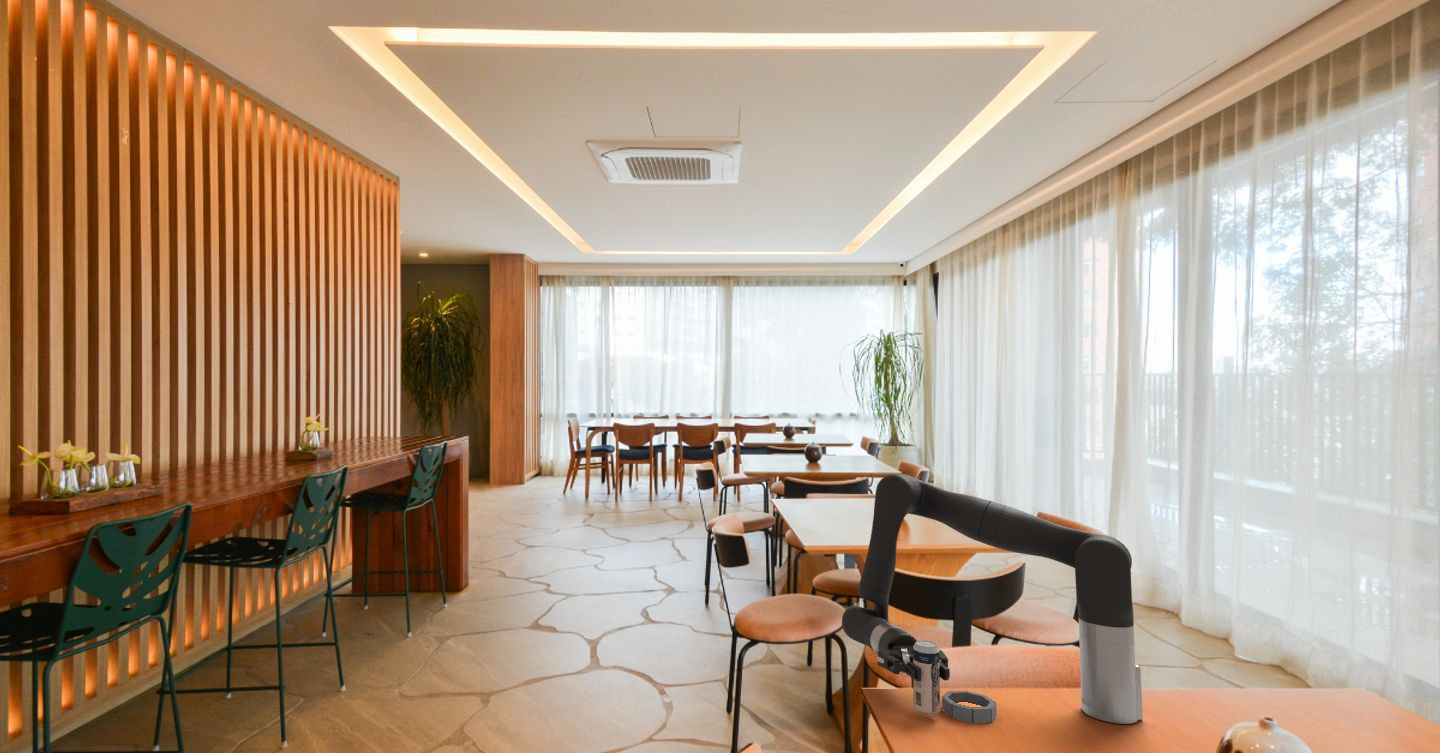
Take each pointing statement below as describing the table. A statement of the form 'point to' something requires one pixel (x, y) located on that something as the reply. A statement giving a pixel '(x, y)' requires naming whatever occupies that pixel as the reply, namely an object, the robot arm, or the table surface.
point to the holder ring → (969, 713)
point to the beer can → (927, 677)
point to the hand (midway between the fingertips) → (933, 675)
